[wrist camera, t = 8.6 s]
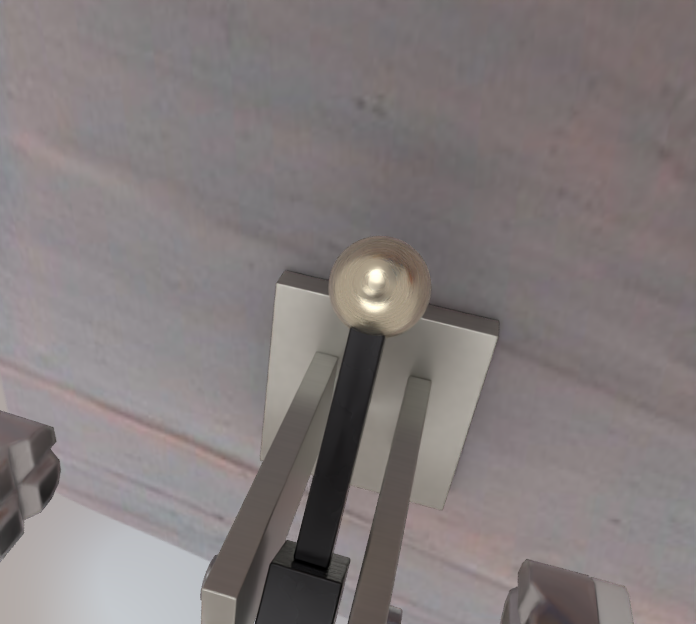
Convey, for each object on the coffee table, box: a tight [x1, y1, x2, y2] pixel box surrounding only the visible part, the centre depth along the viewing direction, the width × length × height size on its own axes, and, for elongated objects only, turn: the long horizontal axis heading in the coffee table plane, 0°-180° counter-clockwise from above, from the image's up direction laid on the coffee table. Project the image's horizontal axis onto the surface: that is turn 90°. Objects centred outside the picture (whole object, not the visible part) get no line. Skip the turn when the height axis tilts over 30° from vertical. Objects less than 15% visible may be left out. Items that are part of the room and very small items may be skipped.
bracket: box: [200, 271, 499, 624], centre depth 23 cm, size 10×9×13 cm
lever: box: [255, 236, 431, 624], centre depth 20 cm, size 13×3×3 cm
